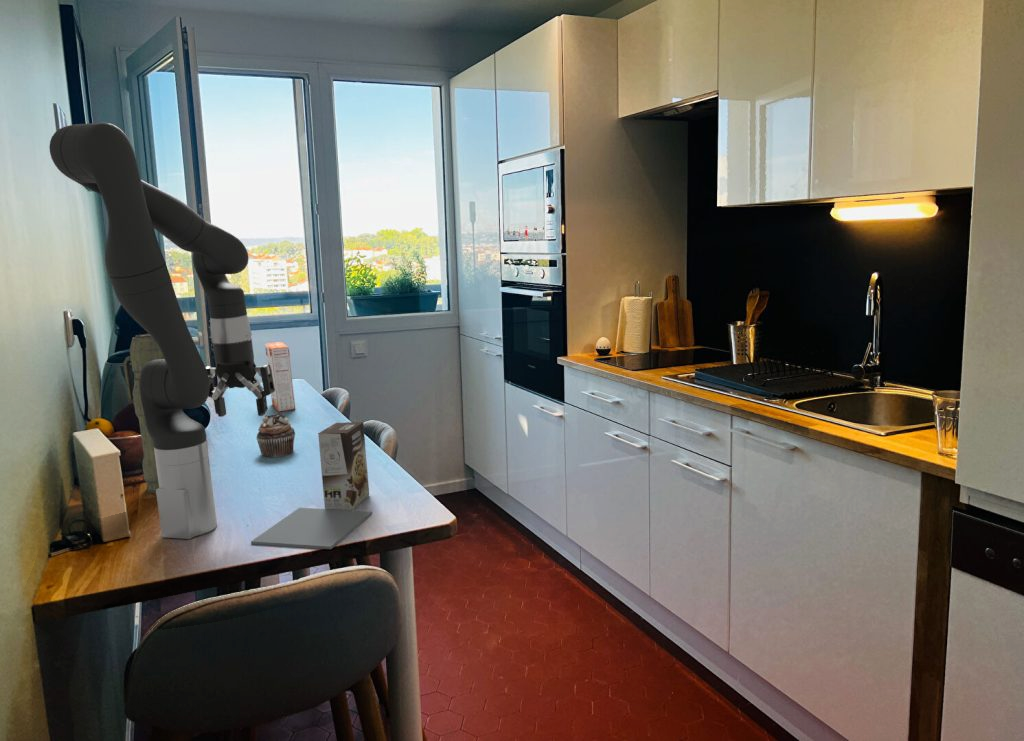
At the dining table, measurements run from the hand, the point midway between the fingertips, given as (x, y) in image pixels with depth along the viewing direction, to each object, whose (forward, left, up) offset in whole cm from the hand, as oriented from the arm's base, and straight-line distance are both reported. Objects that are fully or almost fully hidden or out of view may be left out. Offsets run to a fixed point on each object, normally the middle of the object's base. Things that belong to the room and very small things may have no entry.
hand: (242, 415), depth 156 cm
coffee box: (+3, -21, -19) cm, 28 cm away
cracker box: (+84, +43, -19) cm, 96 cm away
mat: (-11, -21, -19) cm, 30 cm away
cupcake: (+35, +15, -19) cm, 42 cm away
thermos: (+6, +26, -19) cm, 33 cm away
